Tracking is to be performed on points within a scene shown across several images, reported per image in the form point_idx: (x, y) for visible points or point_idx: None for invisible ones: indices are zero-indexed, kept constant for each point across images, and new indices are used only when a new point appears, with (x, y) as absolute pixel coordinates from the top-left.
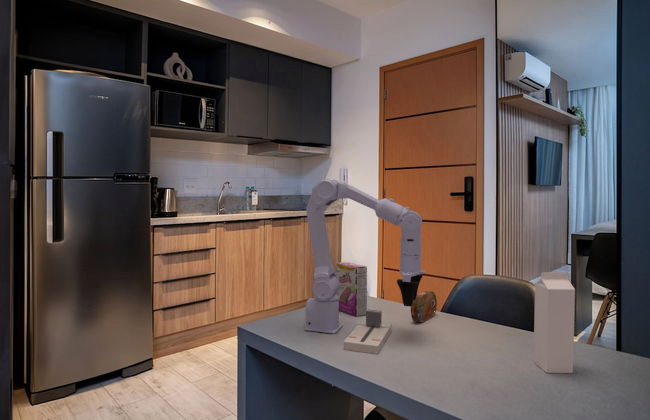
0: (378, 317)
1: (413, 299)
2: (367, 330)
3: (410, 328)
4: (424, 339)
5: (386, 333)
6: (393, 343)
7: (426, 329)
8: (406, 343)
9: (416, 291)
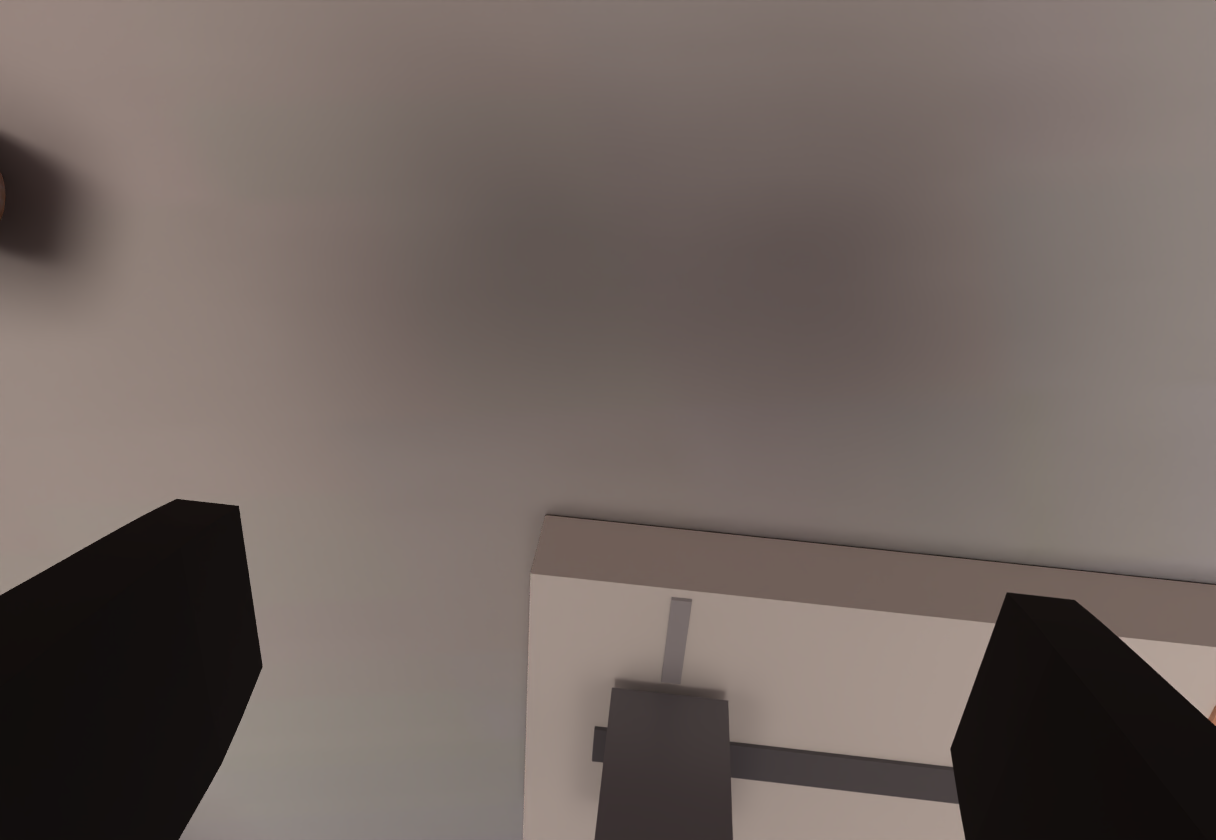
0: (729, 827)
1: (238, 551)
2: (851, 796)
3: (298, 280)
4: (759, 40)
5: (893, 603)
6: (1006, 466)
7: (229, 20)
8: (989, 308)
9: (59, 669)
